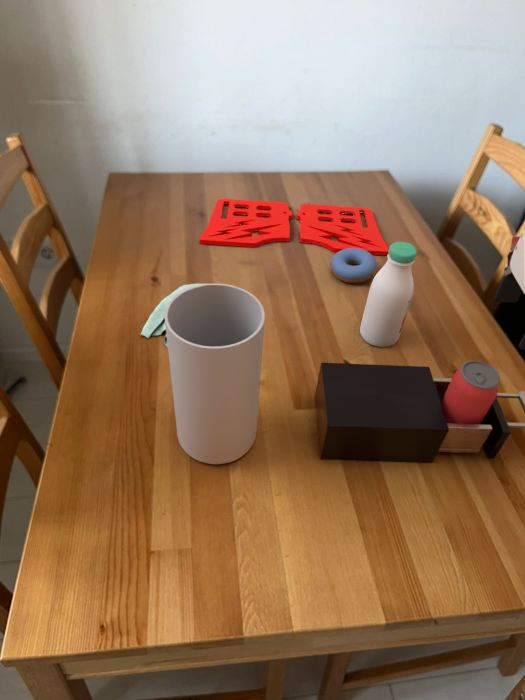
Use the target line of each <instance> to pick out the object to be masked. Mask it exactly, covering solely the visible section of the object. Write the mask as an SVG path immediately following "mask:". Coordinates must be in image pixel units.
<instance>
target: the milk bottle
mask: <svg viewBox="0 0 525 700" xmlns="http://www.w3.org/2000/svg"><path fill="white" fill-rule="evenodd" d="M417 254H418V250H417V248H416V247H415V246H414V245H413V244H411V243H409V242H406V241H395V242H393V243H391V244H390V246H389V252H388V255H386V256H387V260H386V262H385V263H384V265H383V266H382V267H381V268H380V269H379V271H377V273H376V275H375V276H374V277H373V280H372V282H371V283H370V287H369V290H368V295H367V298H366V302H365V306H364V310H363V315H362V319H361V322H360V327H359V333H360V336H361V338H362V339H363V340H364V341H365V342H366V343H367V344H369V345H371V346H374V347H378V348H387V347H391V346H393V345H395V344H396V343H397V342H398V340H399V338H400V335H401V333H402V330H403V327H404V324H405V321H406V317H407V314H408V311H409V309H410V305H411V302H412V299H413V295H414V290H415V289H414V287H415V286H414V285H415V283H414V278H413V273H412V265H413V264H414V263H415V259H416V257H417Z"/></svg>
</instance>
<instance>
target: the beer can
mask: <svg viewBox="0 0 525 700" xmlns="http://www.w3.org/2000/svg"><path fill="white" fill-rule="evenodd" d="M451 378H452V380H451V382H450V384H449V387H448V389H447V391H446V393H445V395H444V398H443V400H442V402H441V406H442V409H443V412H444V415H445V419H446V422H447V423H453V424H481V422H482V420H483V419H484V417H485V415H486V413H487V412H488V410H489V408H490V406H491V405H492V403H493V401H494V399H495V398H496V396H497V393H499V389H500V382H501V376H500V373H499V372H498V371H497V369H496V368H495V367H493V366H492V365H490V364H489V363H487V362H484V361H482V360H477V359H476V360H475V359H474V360H468V361H465V362H464V363H463V364H462V365H461V366H460V367H459V368H458V369H457V370H456V371H455V372H454V373H453V376H452V377H451Z"/></svg>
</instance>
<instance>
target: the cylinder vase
mask: <svg viewBox="0 0 525 700" xmlns="http://www.w3.org/2000/svg"><path fill="white" fill-rule="evenodd" d="M202 284H203V285H198V286H194V287H191V288H188V289H186V290H184V291H182V292H180V293H179V294H177V295H176V296H175V297H174V298H173V299H172V300H171V301H170V302H169V304H168V305H167V307H166V310H165V325H166V330H165V335H167V344H168V347H167V353H168V362H169V370H170V380H171V390H172V398H173V407H174V416H175V425H176V435H177V440H178V443H179V445H180V446H181V448H182V450H183V451H184V452H185V453H186V454H187V455H188V456H189V457H191V458H192V459H194V460H196V461H198V462H201V463H204V464H208V465H224V464H228V463H232V462H234V461H236V460H238V459H240V458H241V457H243V456H244V455H246V454H247V453H248V452H249V451H250V449H251V448H252V446H253V445H254V443H255V441H256V437H257V431H258V416H259V403H260V402H259V401H260V389H261V374H262V360H263V347H264V333H265V332H264V331H265V319H266V318H265V317H266V314H265V309H264V306H263V305H262V303H261V301H260V300H259V299H258V298H257V296H255V295H254V294H253V293H252V292H250V291H248V290H246V289H244V288H242V287H239V286H235V285H232V284H226V283H217V282H216V283H208V284H206V283H202Z"/></svg>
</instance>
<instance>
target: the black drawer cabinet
mask: <svg viewBox="0 0 525 700" xmlns="http://www.w3.org/2000/svg"><path fill="white" fill-rule="evenodd" d="M317 377H318V378H317V383H316V386H315V387H316V388H315V394H314V405H315V407H314V408H315V418H316V427H317V428H316V430H317V440H318V451H319V460H327V461H328V460H329V461H330V460H332V461H360V462H361V461H362V462H386V463H387V462H390V463H391V462H392V463H419V464H420V463H421V464H433V463H434V461H435V459H436V456H437V455H438V453H439V452H438V451H439V449H440V447H441V445H442V443H443V441H444V439H445V437H446V435H447V433H448V431H449V428H448V425H447V422H446V419H445V415H444V412H443V409H442V406H441V403H440V399H439V396H438V393H437V390H436V387H435V384H434V380H433V378H434V377H433V374H432V371H431V368H430V366H419V365H418V366H417V365H416V366H415V365H396V364H395V365H394V364H393V365H391V364H365V363H343V362H320V367H319V373H318V376H317Z"/></svg>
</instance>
